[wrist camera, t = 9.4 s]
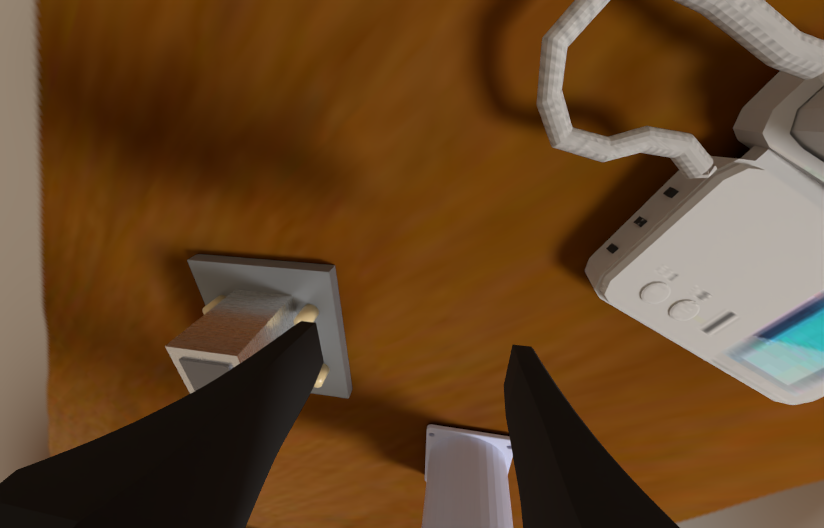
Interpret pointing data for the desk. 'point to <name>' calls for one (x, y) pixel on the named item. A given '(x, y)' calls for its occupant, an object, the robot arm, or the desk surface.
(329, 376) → the tray
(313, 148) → the desk surface
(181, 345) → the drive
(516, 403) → the robot arm
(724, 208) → the intercom
